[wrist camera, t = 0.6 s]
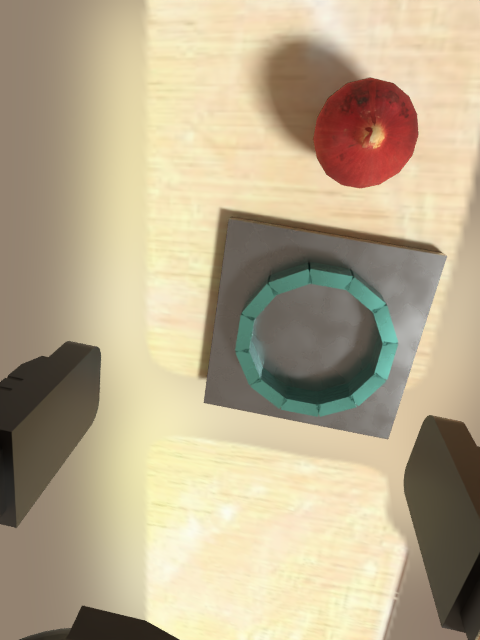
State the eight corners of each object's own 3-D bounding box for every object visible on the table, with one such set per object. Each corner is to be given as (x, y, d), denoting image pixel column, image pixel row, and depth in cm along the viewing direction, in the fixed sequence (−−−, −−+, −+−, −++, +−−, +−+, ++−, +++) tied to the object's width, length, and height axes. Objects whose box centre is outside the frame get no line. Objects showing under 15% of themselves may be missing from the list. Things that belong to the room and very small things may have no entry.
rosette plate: (231, 216, 33) (224, 223, 30) (442, 252, 32) (456, 263, 29) (206, 396, 38) (198, 416, 36) (386, 432, 37) (392, 455, 35)
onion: (306, 99, 30) (307, 83, 22) (398, 76, 28) (432, 51, 21) (320, 190, 31) (325, 204, 24) (407, 172, 30) (441, 181, 23)
